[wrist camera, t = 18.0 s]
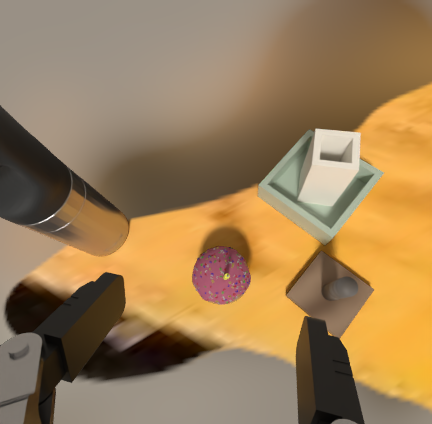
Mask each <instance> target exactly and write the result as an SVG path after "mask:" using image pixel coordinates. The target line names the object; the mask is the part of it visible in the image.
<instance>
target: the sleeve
mask: <svg viewBox="0 0 432 424" xmlns="http://www.w3.org/2000/svg"><path fill="white" fill-rule="evenodd" d="M359 160H360V133H357V132H346V131H336V130H324V129H315V132H314V135H313V138H312V140H311V143H310V146H309V149H308V152H307V155H306V157H305V160H304V163H303V166H302V169H301V172H300V179H299V188H298V196H297V201H298V202H305V203H312V204H319V205H326V206H333V205H334V203H335V202H336V201H337V199H338V198H339V197H340V195H341V194H342V193H343V191H344V190H345V189H346V187H347V186H348V185H349V183H350V182H351V181H352V179H353V178H354V177H355V175H356V174H357V172H358V171H359Z"/></svg>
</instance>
